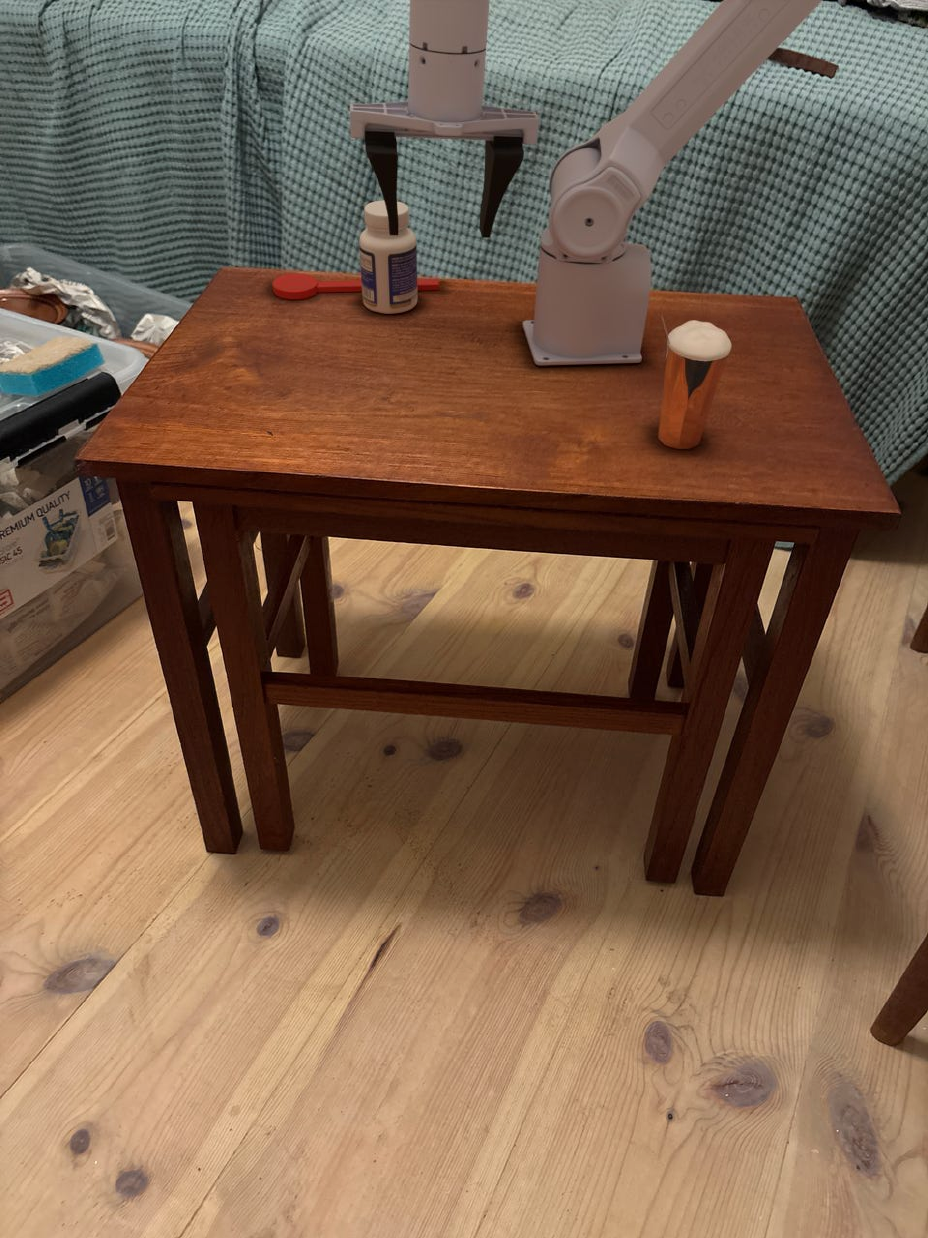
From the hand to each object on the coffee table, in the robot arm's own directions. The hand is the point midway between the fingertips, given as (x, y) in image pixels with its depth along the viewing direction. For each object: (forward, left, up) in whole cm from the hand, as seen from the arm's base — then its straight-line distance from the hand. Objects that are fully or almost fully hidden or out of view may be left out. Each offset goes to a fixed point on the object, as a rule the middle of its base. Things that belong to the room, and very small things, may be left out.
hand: (439, 231), depth 77 cm
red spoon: (+8, -11, -9) cm, 16 cm away
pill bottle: (+4, -7, -10) cm, 13 cm away
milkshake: (-17, +18, -10) cm, 27 cm away
